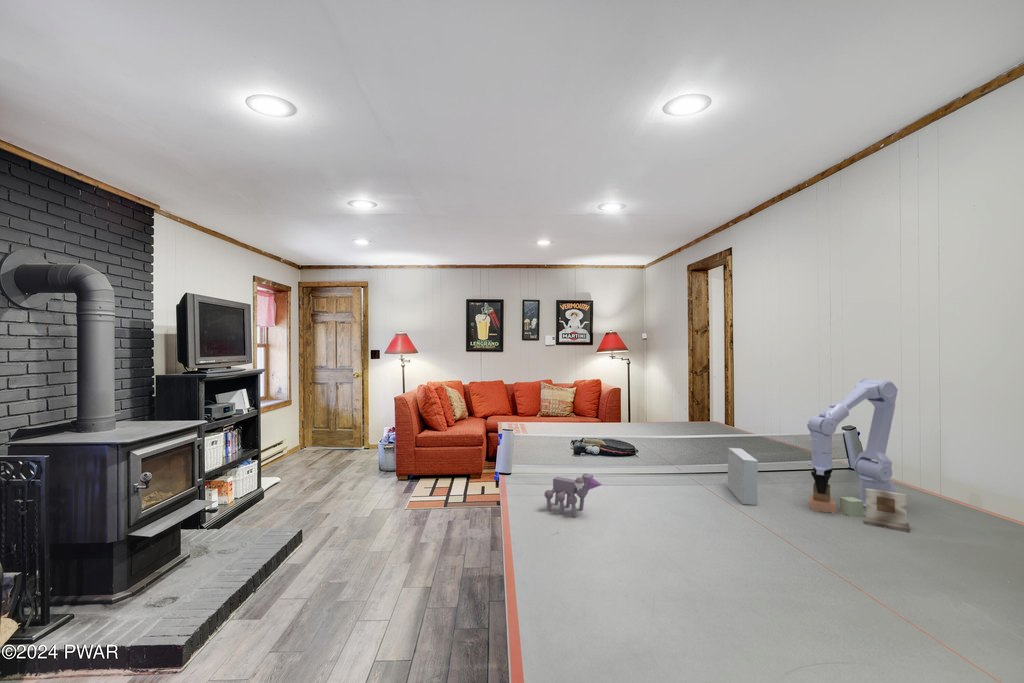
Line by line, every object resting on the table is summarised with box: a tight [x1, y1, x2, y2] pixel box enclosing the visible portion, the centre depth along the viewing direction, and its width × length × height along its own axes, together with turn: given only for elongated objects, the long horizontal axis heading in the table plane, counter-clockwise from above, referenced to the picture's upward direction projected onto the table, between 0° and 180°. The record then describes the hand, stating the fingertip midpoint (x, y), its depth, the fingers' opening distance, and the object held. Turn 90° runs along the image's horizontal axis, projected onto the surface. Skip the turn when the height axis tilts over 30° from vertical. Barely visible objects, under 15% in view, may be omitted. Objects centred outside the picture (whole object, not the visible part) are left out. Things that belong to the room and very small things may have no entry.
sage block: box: [839, 496, 864, 517], centre depth 154 cm, size 4×4×5 cm
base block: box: [809, 494, 837, 514], centre depth 159 cm, size 7×7×4 cm
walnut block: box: [812, 481, 831, 502], centre depth 159 cm, size 4×4×5 cm
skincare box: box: [726, 447, 759, 506], centre depth 173 cm, size 21×6×16 cm, turn 168°
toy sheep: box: [543, 473, 603, 518], centre depth 156 cm, size 20×11×14 cm, turn 55°
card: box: [863, 489, 911, 533], centre depth 144 cm, size 11×6×10 cm, turn 51°
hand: (822, 491), depth 159 cm, fingers open, 5 cm apart
